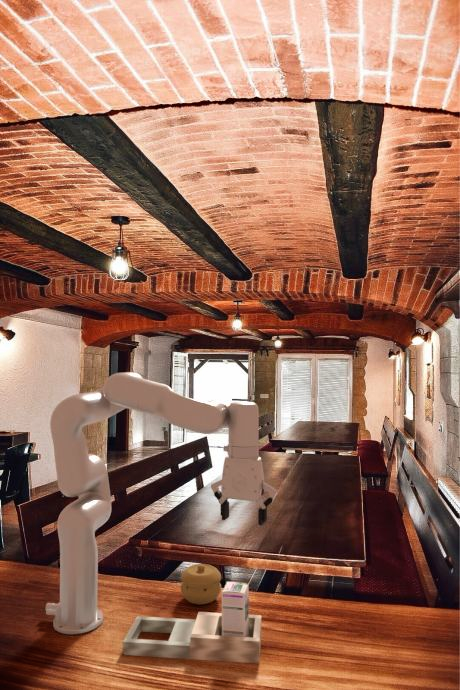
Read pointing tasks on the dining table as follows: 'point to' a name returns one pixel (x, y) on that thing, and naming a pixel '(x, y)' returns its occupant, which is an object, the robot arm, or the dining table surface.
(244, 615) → the syrup box
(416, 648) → the dining table surface
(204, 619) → the rack
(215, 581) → the beige rounded piece
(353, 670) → the dining table surface
